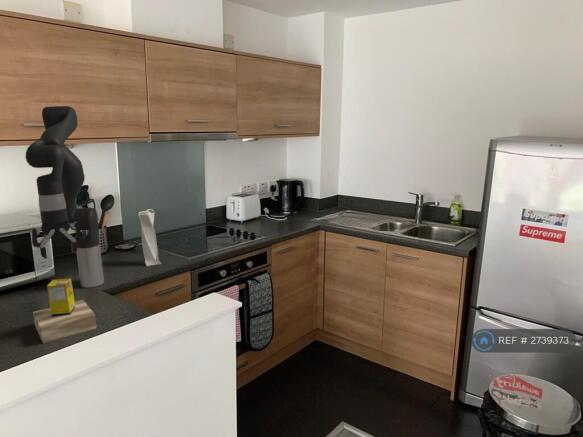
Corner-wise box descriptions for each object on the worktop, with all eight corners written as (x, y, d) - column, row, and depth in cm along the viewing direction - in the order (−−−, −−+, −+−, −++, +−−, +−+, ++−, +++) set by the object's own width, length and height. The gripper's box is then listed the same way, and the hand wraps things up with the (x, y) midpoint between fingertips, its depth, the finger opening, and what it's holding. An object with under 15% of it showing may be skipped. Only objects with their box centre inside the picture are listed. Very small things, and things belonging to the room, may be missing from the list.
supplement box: (75, 307, 151) (71, 277, 149) (70, 314, 146) (66, 284, 143) (57, 309, 150) (52, 279, 148) (51, 316, 144) (46, 285, 142)
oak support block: (34, 325, 149) (32, 312, 148) (84, 312, 159) (83, 299, 158) (43, 343, 137) (40, 328, 136) (96, 328, 147) (94, 314, 146)
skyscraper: (162, 265, 211) (157, 208, 205) (144, 268, 208) (139, 210, 201) (158, 260, 219) (154, 206, 212) (142, 263, 215) (136, 207, 209)
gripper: (74, 202, 148) (80, 248, 151) (25, 208, 139) (33, 257, 143) (79, 206, 142) (85, 253, 145) (29, 212, 133) (37, 262, 137)
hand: (59, 255), depth 144 cm, fingers open, 8 cm apart
